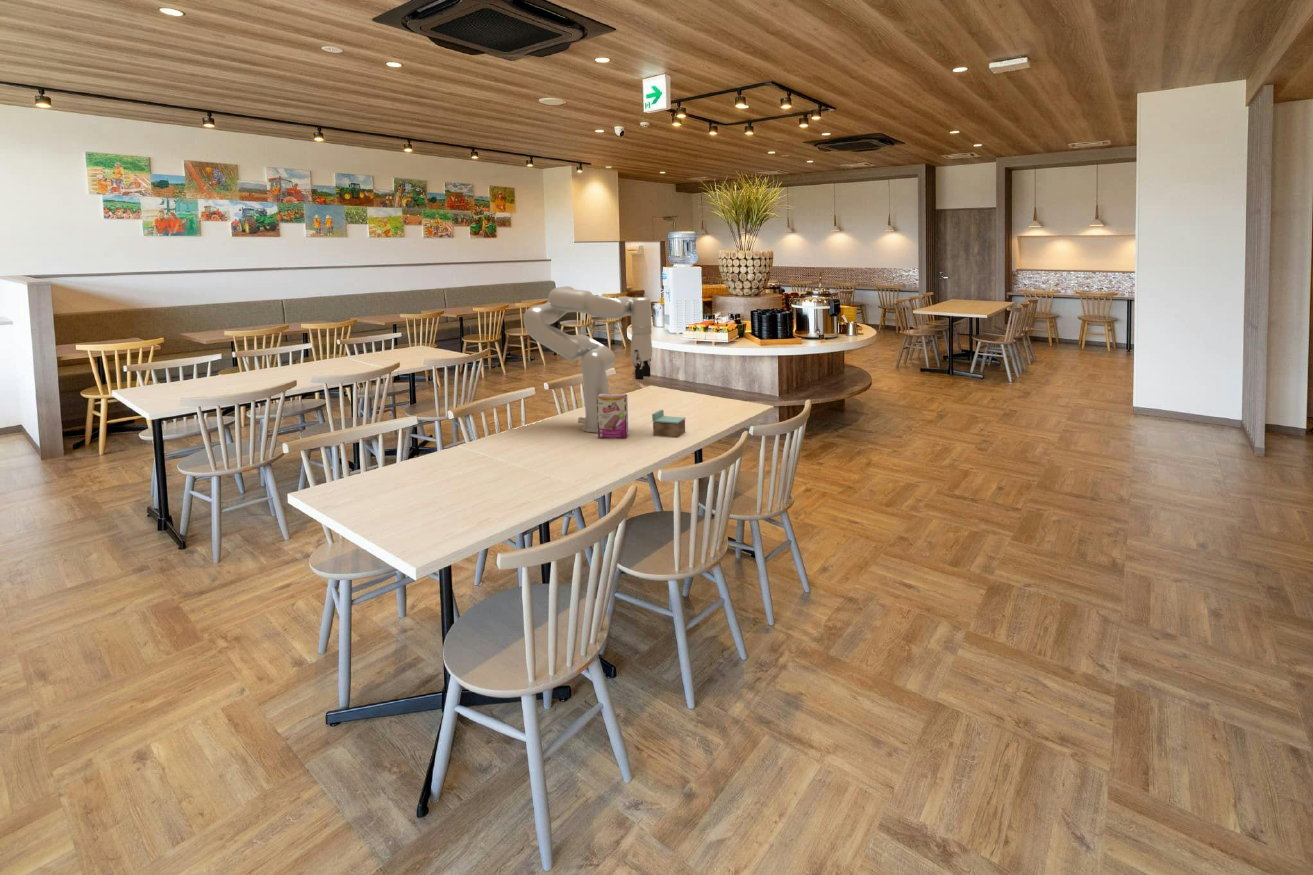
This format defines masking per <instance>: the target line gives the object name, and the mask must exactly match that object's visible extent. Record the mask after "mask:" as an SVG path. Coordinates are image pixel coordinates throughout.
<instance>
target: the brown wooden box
mask: <svg viewBox="0 0 1313 875" xmlns="http://www.w3.org/2000/svg"><path fill="white" fill-rule="evenodd" d="M652 433H653V434H652V435H653V436H658V437H667V438H668V437H669V438H670V437H671V438H679V437H680V436H682V435H683V434H685V433H686V419H685V420H683V421H682V422H680V423H678V424H673V423H661V422H652Z"/></svg>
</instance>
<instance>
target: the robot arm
mask: <svg viewBox="0 0 1313 875" xmlns="http://www.w3.org/2000/svg"><path fill="white" fill-rule="evenodd" d="M568 312H573V313H582V314H586V315H588V316H589V315H590V316H594V317H598V318H599V317H600V318H605V319H613V320H614V319H616V320H617V319H620V318H626V317H628V316H629V317H630V321H631V338H630V340H631V342H630V360H631V361H632V364H633V366H634V367H633V368H634V375H635V376H634V378H635V380H641V381H642V380H644V378H645V377H646V378H647V377H649V378H650V377H651V363H652V362H651V361H652V357H653V342H652V334H653V333H652V331H653V330H652V302H651V298H649V297H647V296H646V297H645V296H639V297H631V296H623V295H622V296H618V297H607V296H598V295H595V294H593V293H592V292H591V291H589V290H582V289H576V288H575V289H574V287H572V286H566V285H565V286H560V287H554V288H553V289H552V290H551V291H550V292H549V293H548V298H547V301H546V302H545V303H541V304H536V305H533V306H530V307H529V308H528V309H527V310H525V312H524V314H523V326H524V329H525V331H526V333H527V335H529V336H530V337H531V339H533V340H534V341H536V342H537V343H539V344H540V345H542V346H544V347H546V348H548V349H549V350H550V351H552V352H554V353H556V354H558V355H559V356H561V357H563V359H566V360H568V361H572V362H573V361H578V360H581V361H580V368H581V369H580V370H581V373H582V380H583V393H584V410H585V411H584V412H585V417H583V416H582V417H581V416H579V417H578V419H577V423H578V424H583V425H582V431H584V432H587V433H598V414H597V396H598V395H599V394H610V391H609V381H608V377H607V373H606V372H607V371H608V370H610V369H612V368H613V366H614V364H615V363H616V355H615V353H614V351H612V349H611V348H609V347H608V346H606V345H604V344H602V343H601V342H599V341H597V340H596V339H593V338H592V337H590V336H588V335H585V334H582V333H581V334H574V335H570V334H568V333H566V332H564V331H562V330H561V329H559V328H557V327H554V326H552V325H553V324H554V323H556V322H557V321H559V319H561V318H562V317H563V316H564V315H566V314H567V313H568Z"/></svg>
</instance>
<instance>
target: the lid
mask: <svg viewBox="0 0 1313 875" xmlns="http://www.w3.org/2000/svg"><path fill="white" fill-rule="evenodd" d="M664 414H665V413H664V409H659V410H657V411H655V412H654V413H652V414H651V417H652V420H651V421H652V423H653V422H661V423H673V424H678V423H680V422H682V421H683V420H685V421H686V419H687V418H686V417H684V416H683V417H682V416H671V415H669V416H668V415H664Z"/></svg>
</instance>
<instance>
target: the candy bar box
mask: <svg viewBox="0 0 1313 875" xmlns="http://www.w3.org/2000/svg"><path fill="white" fill-rule="evenodd" d="M628 408H629V406H628V394H626V393H609V394H599V395H598V396H597V414H598V432H597V434H598V435H597V437H598V439H627V438H628V436H629V414H628V413H629V409H628Z"/></svg>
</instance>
